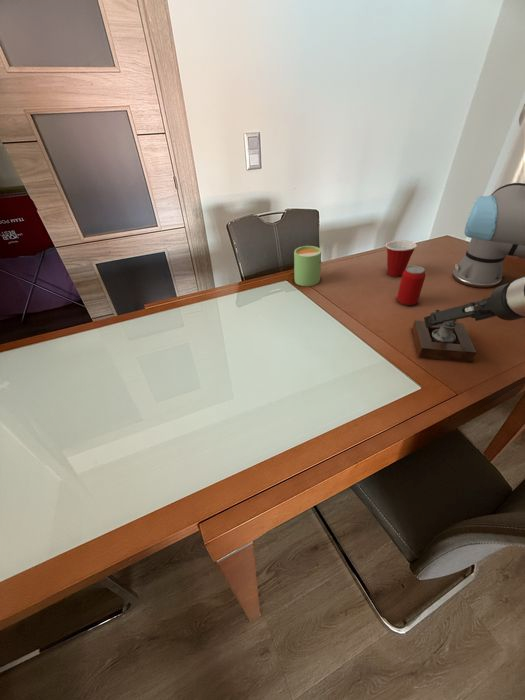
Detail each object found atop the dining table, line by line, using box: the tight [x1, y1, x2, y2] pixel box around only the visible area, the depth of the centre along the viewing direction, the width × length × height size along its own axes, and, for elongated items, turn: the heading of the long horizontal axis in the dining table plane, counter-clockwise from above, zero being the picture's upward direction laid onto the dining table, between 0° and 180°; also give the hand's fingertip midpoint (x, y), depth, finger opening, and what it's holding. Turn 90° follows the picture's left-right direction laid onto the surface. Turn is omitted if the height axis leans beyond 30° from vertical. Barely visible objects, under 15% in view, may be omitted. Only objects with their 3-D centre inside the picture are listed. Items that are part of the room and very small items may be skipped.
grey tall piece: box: [431, 320, 457, 344], centre depth 82 cm, size 6×6×12 cm
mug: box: [293, 245, 323, 287], centre depth 118 cm, size 13×10×12 cm
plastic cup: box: [385, 239, 418, 278], centre depth 116 cm, size 11×11×12 cm
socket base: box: [411, 319, 477, 363], centre depth 85 cm, size 13×13×4 cm
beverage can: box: [396, 264, 426, 306], centre depth 100 cm, size 7×7×12 cm
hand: (451, 319), depth 80 cm, fingers open, 13 cm apart
